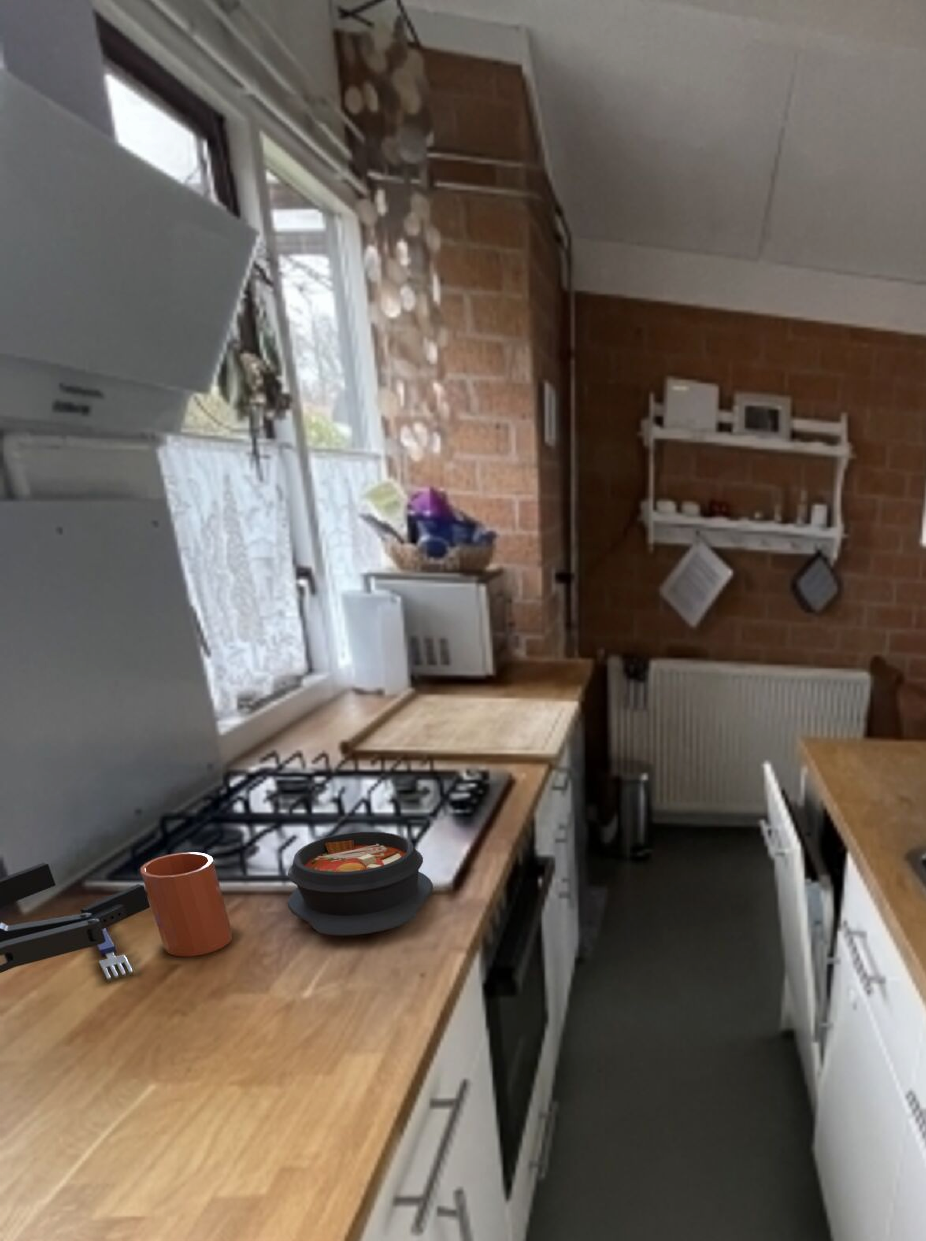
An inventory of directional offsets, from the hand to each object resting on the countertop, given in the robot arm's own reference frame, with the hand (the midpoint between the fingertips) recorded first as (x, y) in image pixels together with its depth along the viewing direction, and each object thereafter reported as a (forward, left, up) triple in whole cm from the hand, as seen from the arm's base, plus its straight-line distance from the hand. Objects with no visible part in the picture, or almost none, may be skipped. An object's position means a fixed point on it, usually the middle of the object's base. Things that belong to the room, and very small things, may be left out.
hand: (96, 884), depth 98 cm
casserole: (-3, +28, -13) cm, 31 cm away
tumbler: (-5, +8, -13) cm, 16 cm away
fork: (-10, -1, -13) cm, 16 cm away
